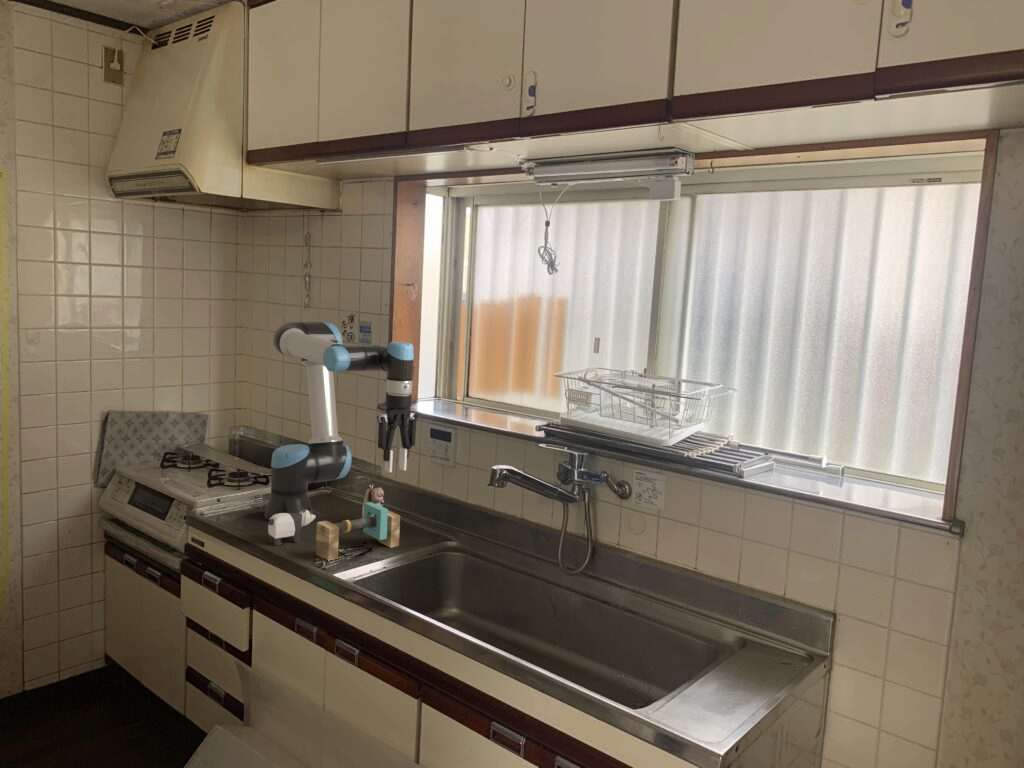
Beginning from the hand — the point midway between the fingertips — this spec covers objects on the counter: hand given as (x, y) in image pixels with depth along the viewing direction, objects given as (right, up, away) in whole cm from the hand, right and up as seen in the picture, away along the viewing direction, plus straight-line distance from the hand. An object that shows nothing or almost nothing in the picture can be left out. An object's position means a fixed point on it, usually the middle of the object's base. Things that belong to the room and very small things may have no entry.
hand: (395, 470), depth 234 cm
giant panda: (-32, -21, -1) cm, 38 cm away
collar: (-6, -19, -2) cm, 20 cm away
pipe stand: (-10, -23, -6) cm, 26 cm away
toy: (-9, -20, +17) cm, 28 cm away
